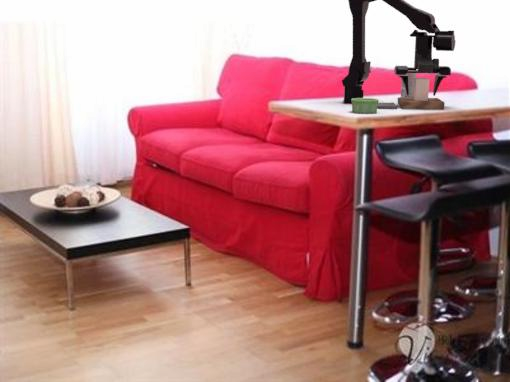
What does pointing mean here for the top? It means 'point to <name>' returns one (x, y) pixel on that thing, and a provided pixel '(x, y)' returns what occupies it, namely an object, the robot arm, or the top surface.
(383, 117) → the top surface
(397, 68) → the robot arm
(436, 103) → the pocket block
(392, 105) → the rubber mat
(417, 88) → the pink block
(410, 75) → the energy drink
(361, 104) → the ramekin
